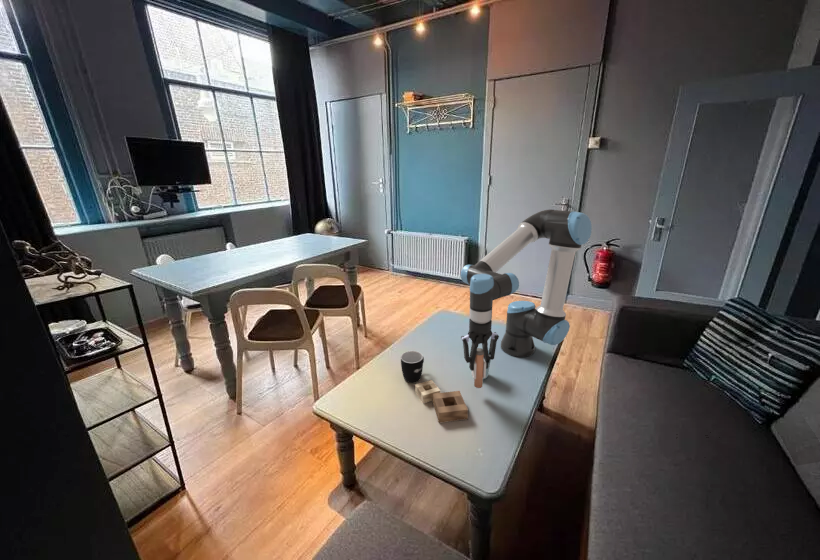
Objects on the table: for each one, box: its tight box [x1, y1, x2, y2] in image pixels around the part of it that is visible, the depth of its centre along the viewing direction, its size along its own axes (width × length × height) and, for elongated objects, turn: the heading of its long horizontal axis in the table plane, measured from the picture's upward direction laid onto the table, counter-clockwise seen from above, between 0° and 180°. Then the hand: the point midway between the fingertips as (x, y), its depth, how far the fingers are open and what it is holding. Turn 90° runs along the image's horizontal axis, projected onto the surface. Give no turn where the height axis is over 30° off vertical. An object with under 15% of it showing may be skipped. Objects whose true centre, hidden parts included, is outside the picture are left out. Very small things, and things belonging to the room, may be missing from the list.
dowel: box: [473, 347, 484, 389], centre depth 118 cm, size 3×3×15 cm
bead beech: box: [414, 379, 441, 404], centre depth 122 cm, size 7×7×4 cm
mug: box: [400, 350, 425, 384], centre depth 133 cm, size 12×9×10 cm
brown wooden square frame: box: [432, 390, 469, 423], centre depth 114 cm, size 10×10×4 cm
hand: (478, 376), depth 120 cm, fingers closed on dowel, 3 cm apart
